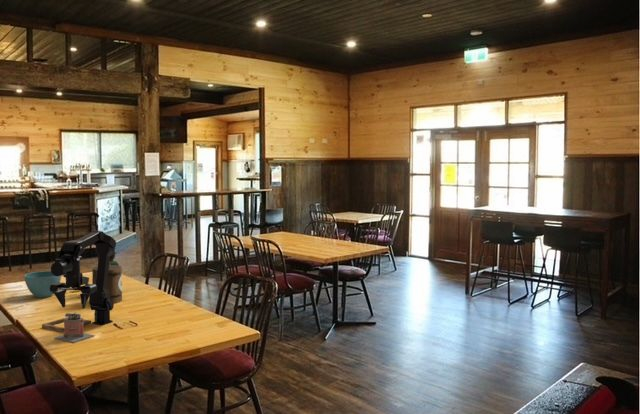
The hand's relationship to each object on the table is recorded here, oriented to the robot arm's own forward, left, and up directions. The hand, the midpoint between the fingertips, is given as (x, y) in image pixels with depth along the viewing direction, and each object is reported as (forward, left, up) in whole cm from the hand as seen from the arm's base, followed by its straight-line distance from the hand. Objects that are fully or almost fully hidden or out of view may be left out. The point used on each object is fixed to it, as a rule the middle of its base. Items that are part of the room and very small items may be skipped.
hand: (73, 308), depth 230 cm
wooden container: (+36, -50, -13) cm, 63 cm away
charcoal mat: (-1, +1, -12) cm, 12 cm away
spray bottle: (+51, -65, -13) cm, 84 cm away
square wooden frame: (+16, -9, -12) cm, 22 cm away
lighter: (-1, +1, -12) cm, 12 cm away
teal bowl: (+75, -41, -13) cm, 86 cm away
